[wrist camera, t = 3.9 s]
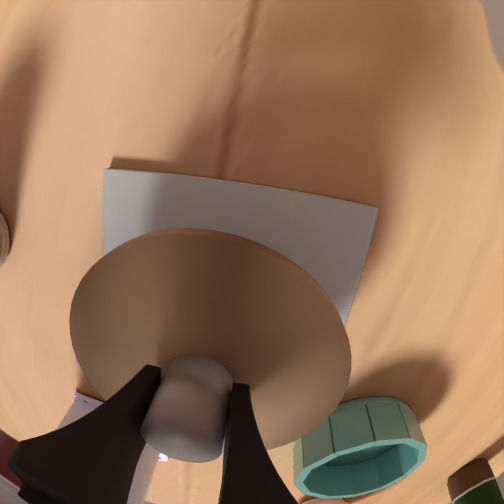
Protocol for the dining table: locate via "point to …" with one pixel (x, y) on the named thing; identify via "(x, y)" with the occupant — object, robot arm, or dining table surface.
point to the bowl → (359, 449)
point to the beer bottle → (474, 485)
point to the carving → (3, 240)
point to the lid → (211, 337)
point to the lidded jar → (325, 501)
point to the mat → (246, 221)
